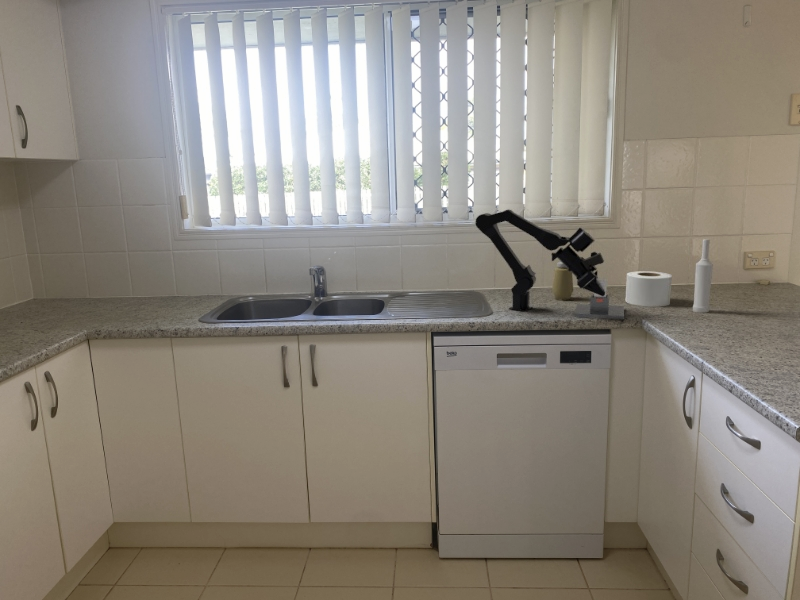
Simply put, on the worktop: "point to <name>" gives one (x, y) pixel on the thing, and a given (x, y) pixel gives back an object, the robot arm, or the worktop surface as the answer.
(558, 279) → the squeeze bottle
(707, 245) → the bottle
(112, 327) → the worktop surface
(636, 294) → the white toilet paper roll
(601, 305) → the stand
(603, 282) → the column
